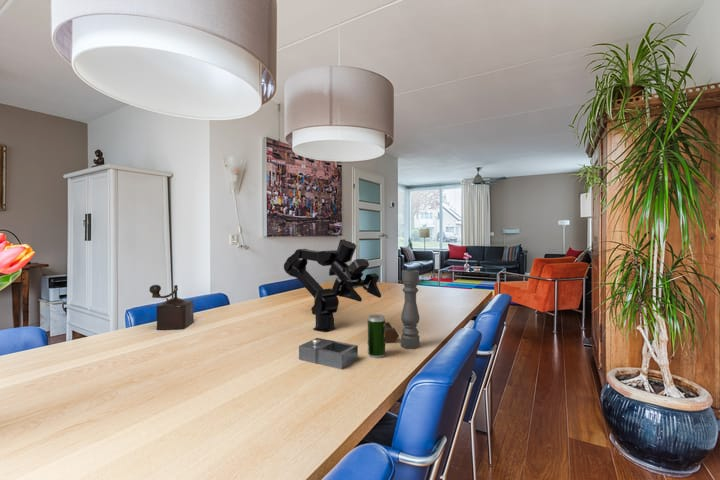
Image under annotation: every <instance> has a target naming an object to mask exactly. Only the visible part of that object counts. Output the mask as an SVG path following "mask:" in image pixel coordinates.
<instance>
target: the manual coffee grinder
mask: <svg viewBox="0 0 720 480" xmlns="http://www.w3.org/2000/svg"><path fill="white" fill-rule="evenodd" d="M161 290H162V286H161V285H158V284H152V285H151V286H150V287H149V293H151V294H152V296H151V298H152V299H153V298H154V299H155V298H156V299H165V301H163V302H161V304H158V305H156V330H157V331H175V330H176V331H179V330H185V329H187V328H188V327H190V326H191V325H192V324H193V323H194V322H195V320H194V319H195V318H194V317H195V316H194V300H184V299H183V298H180V297H178V290H179V289H178V285H177V284H174V285H173V291H172V292H171V293H169V294H166V295H161V294H160V292H161ZM172 296H173V297H172ZM169 297H171V298H170V299H169Z"/></svg>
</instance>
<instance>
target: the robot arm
mask: <svg viewBox="0 0 720 480" xmlns="http://www.w3.org/2000/svg"><path fill="white" fill-rule="evenodd" d="M356 250H357V245H356V243H354V242H351V241H349V240H346V239H342V238H341V239H340V240H339V243H338V246H337V249H336V250H334V249H332V250H321V251H320V250H311V249H307V248H298V249H296V250H295V251H294V253H293V254H291V255H290V256H289V257H288V258H287V259H286V260H285V262H284V263H283V270H284V271H285V273H287V275H288V276H290V277H293V278H295V279H297V280H298V281H299V282H300V283H301V284H302V286H303V287H304V288H305V290H307V291H308V293H310V295H311V296H312V297H313V299H314V302H313V306H312V307H311V314H312V315H315V327H313V328H312V330H315V331H319V332H324V333H328V332H330V331H332V330H334V329H336V328H337V327H336V326H335V317H334V313H335V314H336V313H337V311H338V307H339V303H340V301H339V298H338V297H340V298H341V297H342V298H346V299H349V300H354V301H357V302H359V303H360V302H362V301H363V298H362V297H361V295H360V294H359V293H358V292H357V290H355V289H357V288H361V287H362V289H363V290H364V291H366V292H367V293H369V294H370V295H372V296H375V297H376V298H379V299H381V298H382V294H381V291H380V289H379V287H378V284H377V283H378V281H379V278H380V276H379V275H378V274H377V273H375V272H373V273H368V274H366V275H365V278H364V279H362V278H363V276H364V271H365V270H366V269H368V267H369V265H370V263H369V261H368V260H366V259H365V258H356V259H354V260H352V259H353V258H354V257H353V256H354V254H355V251H356ZM308 261H313V262H317V264H318V265H320V266H323V267H326V266H327V267H329V269H328V270H329V272H328V276H330V277H331V276H332V277H333V276H336V278H335V280H334V283H333V286H332V288H330V287H329V288H323V287H322V285H321V284H319V282H317V281H316V280H315V278H314V277H313V276H312V275H311V274H310V273H309V271H307V265H308ZM351 261H352V262H351ZM348 262H351V263H350V264H348Z"/></svg>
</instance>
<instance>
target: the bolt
mask: <svg viewBox="0 0 720 480" xmlns="http://www.w3.org/2000/svg"><path fill="white" fill-rule="evenodd" d="M398 339H399V334H398V332H397V330H396V328H395V327H392V325H391V323H390V322H387V321H385V344H395V343H396V342H397V340H398Z"/></svg>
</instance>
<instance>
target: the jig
mask: <svg viewBox="0 0 720 480" xmlns="http://www.w3.org/2000/svg"><path fill="white" fill-rule="evenodd" d="M358 351H359V346H358V345H357V344H352V343H348V342H341V341H336V340H333V339H332V340H331V339H325V338H321V337H320V338H319V337H316V338H313V339H311V340H309V341H307V342H305V343H303V344H299V346H298V360H299V361H305V362H310V363H313V364H317V365H322V366H326V367H329V368H334V369H337V370H343V369H345V368H346V367H347V366H349V365H351V364H352V363H353V362H355V361H356V360H358V359H359V357H358V356H359V352H358Z"/></svg>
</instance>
